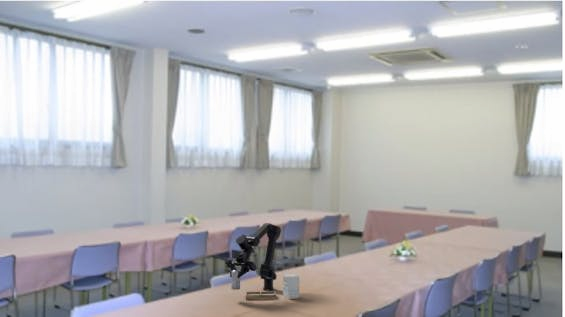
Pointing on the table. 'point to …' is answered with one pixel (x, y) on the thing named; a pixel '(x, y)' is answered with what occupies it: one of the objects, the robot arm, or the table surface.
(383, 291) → the table surface
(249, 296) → the wooden divided tray
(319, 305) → the table surface
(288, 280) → the supplement box
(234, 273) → the grey metal cylinder
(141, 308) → the table surface
